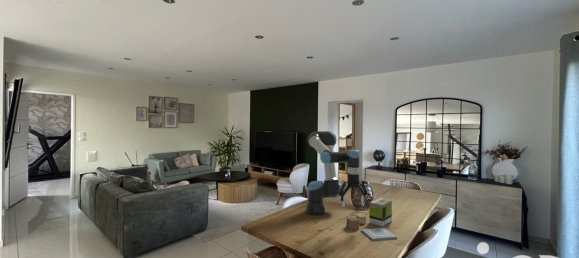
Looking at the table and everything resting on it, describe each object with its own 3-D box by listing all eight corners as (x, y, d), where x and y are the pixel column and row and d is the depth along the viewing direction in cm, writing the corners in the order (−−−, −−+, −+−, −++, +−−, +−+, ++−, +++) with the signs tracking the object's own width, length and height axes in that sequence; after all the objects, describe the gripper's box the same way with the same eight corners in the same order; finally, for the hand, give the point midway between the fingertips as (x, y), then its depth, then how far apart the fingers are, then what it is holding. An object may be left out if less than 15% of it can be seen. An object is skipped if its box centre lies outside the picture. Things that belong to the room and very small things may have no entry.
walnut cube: (346, 226, 168) (346, 217, 168) (354, 225, 169) (354, 216, 169) (350, 229, 162) (350, 220, 162) (358, 229, 163) (359, 220, 163)
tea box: (378, 217, 185) (379, 197, 185) (392, 221, 178) (392, 200, 178) (368, 222, 175) (369, 201, 174) (382, 227, 167) (383, 204, 167)
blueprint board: (361, 230, 160) (361, 228, 160) (383, 229, 163) (383, 227, 163) (372, 240, 147) (372, 238, 147) (397, 238, 150) (397, 236, 150)
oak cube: (355, 221, 177) (356, 214, 177) (362, 220, 178) (362, 213, 178) (359, 223, 173) (359, 216, 172) (365, 223, 173) (366, 216, 173)
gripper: (337, 175, 159) (337, 208, 159) (373, 174, 164) (373, 206, 164) (333, 173, 167) (333, 205, 167) (367, 172, 172) (367, 203, 171)
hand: (353, 205), depth 165 cm, fingers open, 13 cm apart
